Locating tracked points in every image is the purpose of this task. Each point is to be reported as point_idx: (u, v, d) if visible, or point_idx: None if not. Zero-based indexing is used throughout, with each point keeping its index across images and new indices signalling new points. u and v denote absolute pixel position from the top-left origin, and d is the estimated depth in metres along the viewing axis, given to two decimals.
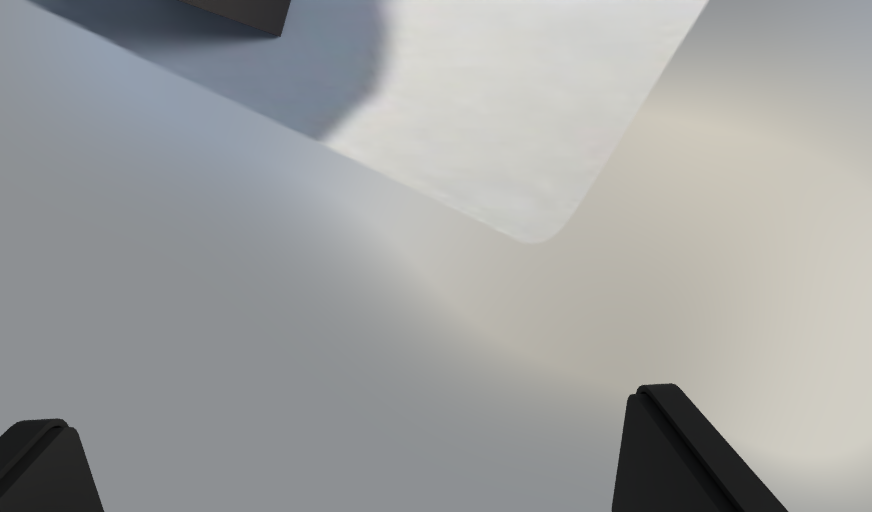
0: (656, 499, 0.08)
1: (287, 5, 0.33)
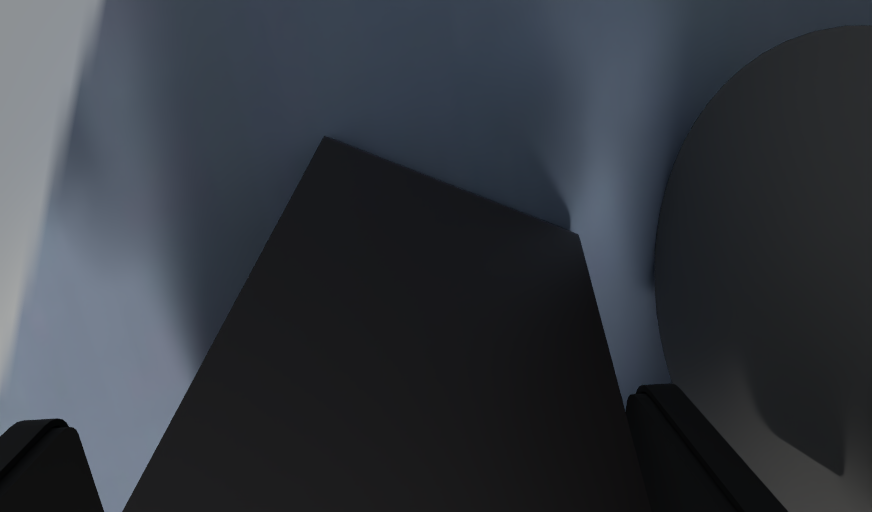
0: (656, 499, 0.08)
1: None
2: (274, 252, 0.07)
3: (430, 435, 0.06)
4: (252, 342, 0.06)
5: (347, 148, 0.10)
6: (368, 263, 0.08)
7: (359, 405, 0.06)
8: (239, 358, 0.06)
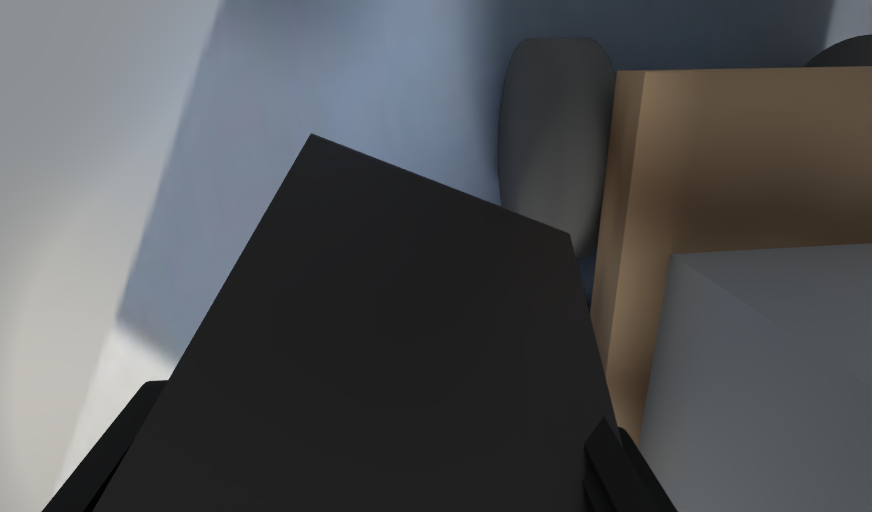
0: None
1: None
2: (255, 251, 0.07)
3: (412, 439, 0.06)
4: (229, 344, 0.06)
5: (334, 146, 0.10)
6: (353, 263, 0.08)
7: (339, 408, 0.06)
8: (215, 360, 0.06)
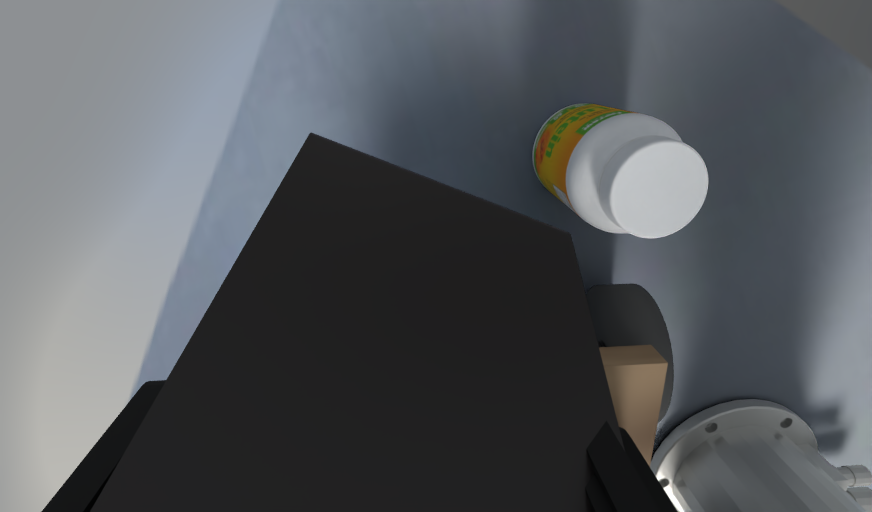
0: None
1: None
2: (254, 251, 0.07)
3: (412, 439, 0.06)
4: (228, 344, 0.06)
5: (333, 145, 0.10)
6: (353, 262, 0.08)
7: (339, 409, 0.06)
8: (214, 361, 0.06)
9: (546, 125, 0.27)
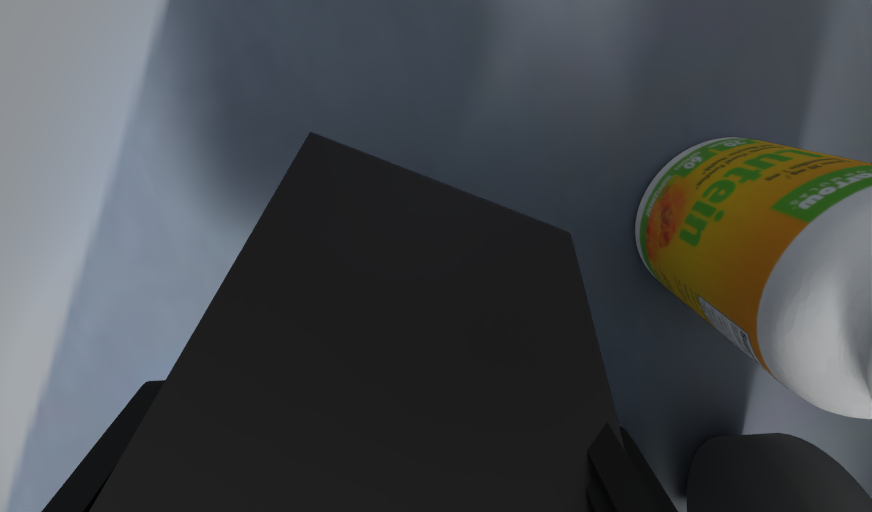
0: None
1: None
2: (254, 250, 0.07)
3: (412, 439, 0.06)
4: (228, 343, 0.06)
5: (334, 144, 0.10)
6: (352, 261, 0.08)
7: (339, 408, 0.06)
8: (213, 360, 0.06)
9: (668, 177, 0.15)
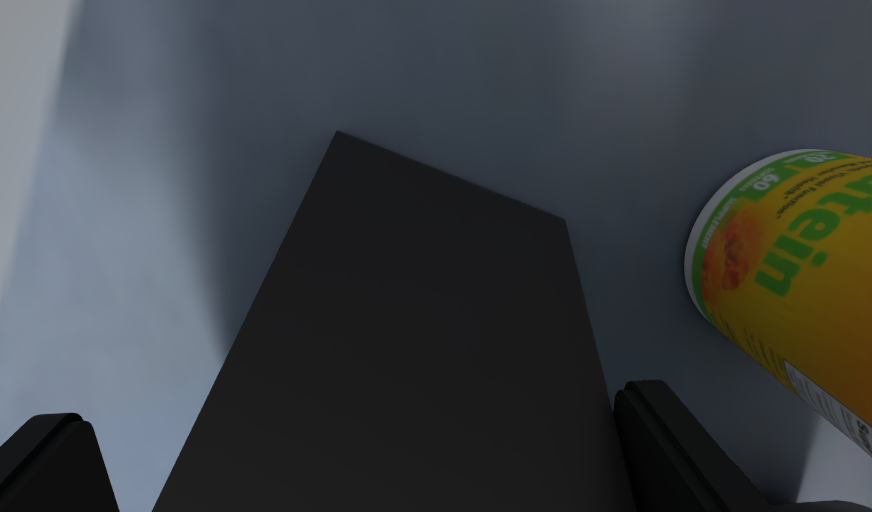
0: (642, 493, 0.08)
1: None
2: (299, 228, 0.09)
3: (434, 376, 0.07)
4: (286, 299, 0.07)
5: (357, 141, 0.11)
6: (379, 239, 0.09)
7: (375, 351, 0.07)
8: (276, 311, 0.07)
9: (732, 199, 0.12)
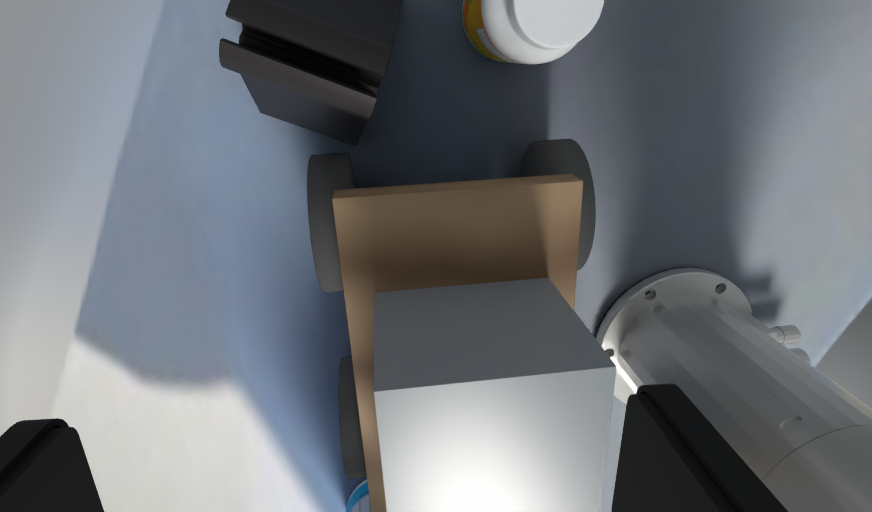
0: (656, 499, 0.08)
1: (293, 123, 0.30)
2: None
3: (331, 1, 0.23)
4: None
5: None
6: None
7: None
8: None
9: None
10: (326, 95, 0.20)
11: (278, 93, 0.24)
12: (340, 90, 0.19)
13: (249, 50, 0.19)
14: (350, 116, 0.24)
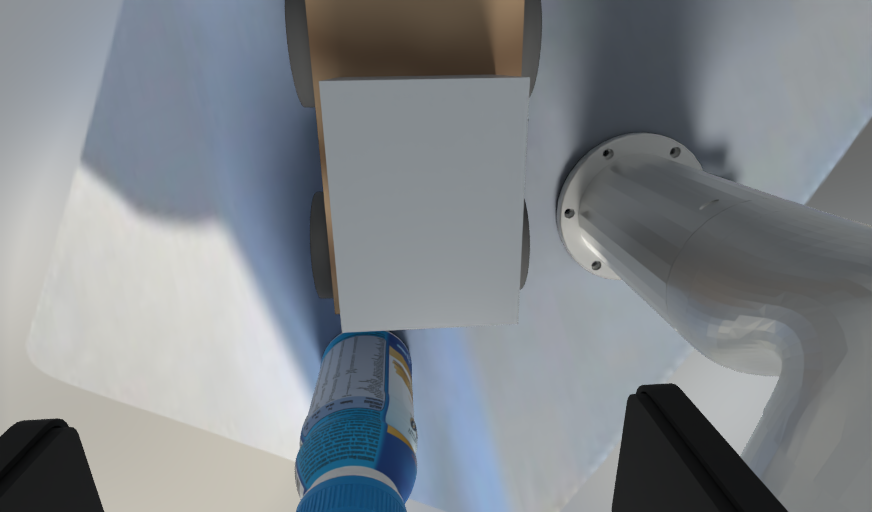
0: (656, 499, 0.08)
1: None
2: None
3: None
4: None
5: None
6: None
7: None
8: None
9: None
10: None
11: None
12: None
13: None
14: None
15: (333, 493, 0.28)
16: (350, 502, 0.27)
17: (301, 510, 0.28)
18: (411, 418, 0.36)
